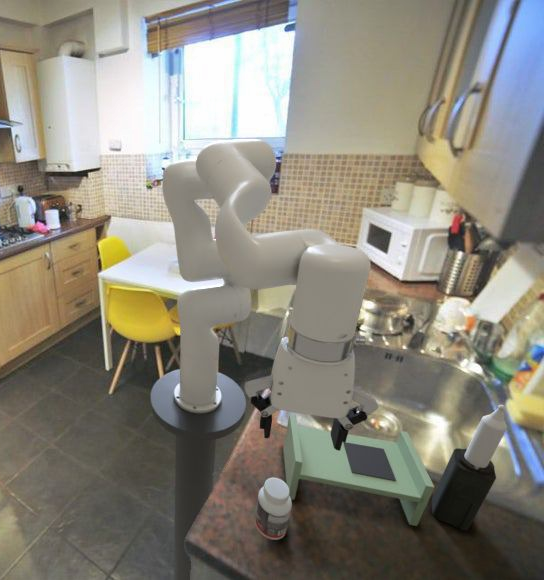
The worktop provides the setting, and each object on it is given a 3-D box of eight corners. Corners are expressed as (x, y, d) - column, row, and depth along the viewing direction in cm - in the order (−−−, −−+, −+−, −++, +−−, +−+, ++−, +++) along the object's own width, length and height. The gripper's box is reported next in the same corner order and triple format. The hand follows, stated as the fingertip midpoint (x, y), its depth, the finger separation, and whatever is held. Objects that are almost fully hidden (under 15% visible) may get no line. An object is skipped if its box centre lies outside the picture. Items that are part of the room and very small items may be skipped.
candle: (432, 517, 65) (483, 409, 54) (431, 495, 69) (478, 389, 58) (469, 533, 62) (530, 423, 52) (466, 509, 66) (522, 401, 55)
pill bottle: (251, 510, 67) (256, 473, 63) (280, 510, 67) (288, 473, 62) (258, 541, 62) (265, 503, 58) (290, 541, 62) (299, 503, 58)
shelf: (283, 448, 79) (289, 413, 75) (393, 468, 74) (407, 431, 70) (287, 498, 69) (295, 461, 64) (417, 526, 63) (434, 487, 59)
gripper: (384, 332, 49) (357, 428, 56) (250, 319, 53) (240, 410, 60) (405, 364, 42) (371, 469, 49) (250, 347, 46) (240, 446, 53)
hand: (299, 437), depth 55 cm, fingers open, 9 cm apart
